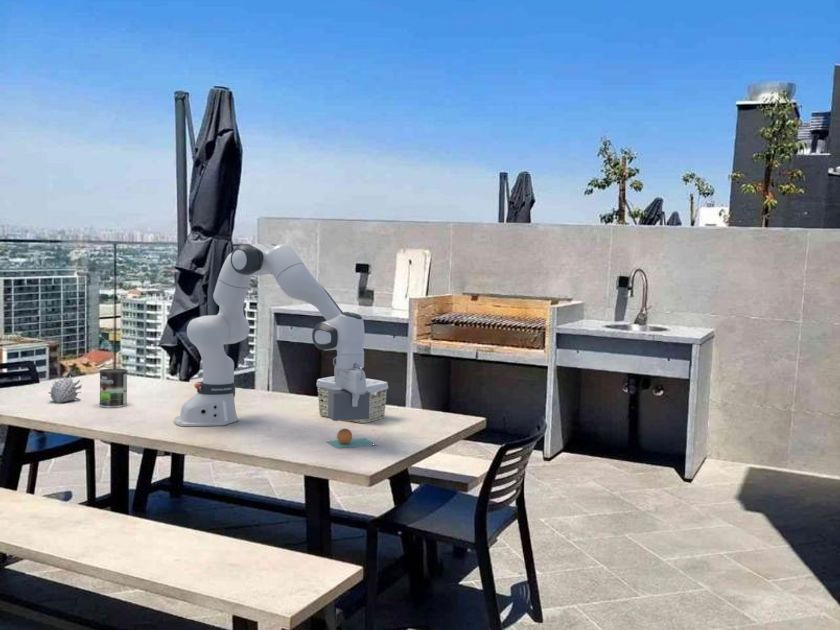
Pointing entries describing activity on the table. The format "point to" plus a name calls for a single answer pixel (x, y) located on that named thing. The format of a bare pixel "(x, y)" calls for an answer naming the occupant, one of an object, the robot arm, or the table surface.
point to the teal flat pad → (351, 443)
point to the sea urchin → (64, 390)
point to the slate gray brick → (347, 406)
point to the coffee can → (113, 388)
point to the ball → (344, 436)
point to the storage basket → (372, 386)
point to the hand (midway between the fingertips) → (349, 403)
